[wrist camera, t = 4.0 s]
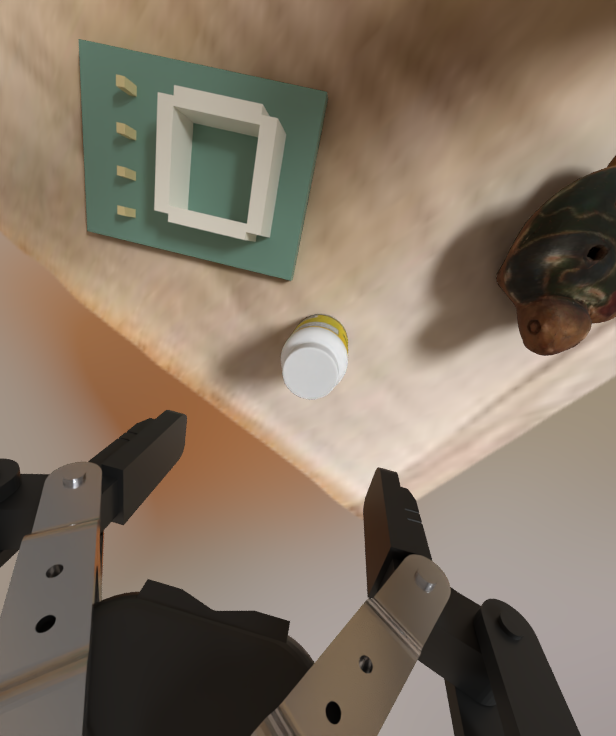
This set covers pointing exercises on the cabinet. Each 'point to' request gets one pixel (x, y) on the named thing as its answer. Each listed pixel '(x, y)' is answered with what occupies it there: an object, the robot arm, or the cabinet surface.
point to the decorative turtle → (565, 265)
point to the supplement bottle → (315, 357)
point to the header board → (197, 157)
